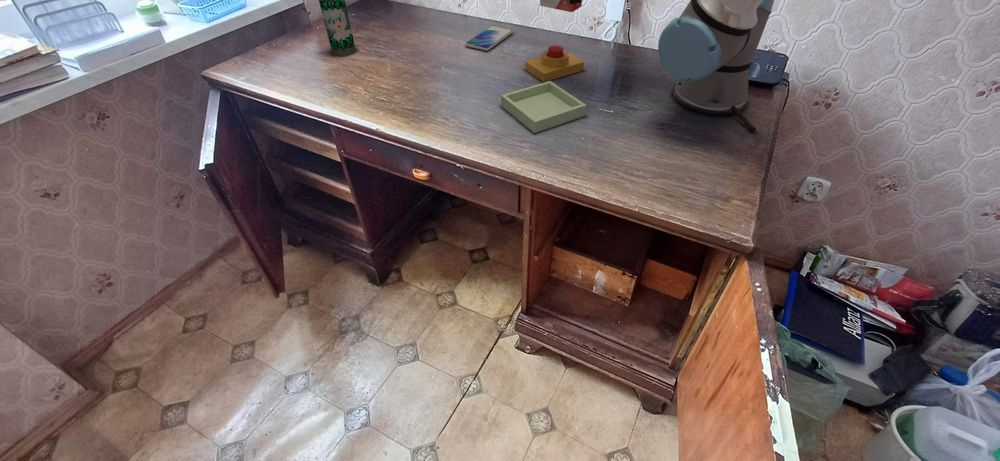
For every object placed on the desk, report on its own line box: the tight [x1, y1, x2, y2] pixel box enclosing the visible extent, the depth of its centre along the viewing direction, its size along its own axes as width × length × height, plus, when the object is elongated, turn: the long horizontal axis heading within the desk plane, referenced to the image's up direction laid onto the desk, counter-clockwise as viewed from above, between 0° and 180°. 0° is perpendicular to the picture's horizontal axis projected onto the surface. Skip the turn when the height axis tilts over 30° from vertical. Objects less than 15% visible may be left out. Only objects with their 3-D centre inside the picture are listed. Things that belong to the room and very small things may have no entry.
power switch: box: [524, 49, 585, 83], centre depth 114 cm, size 8×12×4 cm, turn 121°
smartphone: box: [465, 25, 514, 52], centre depth 129 cm, size 7×1×15 cm
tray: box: [500, 80, 587, 134], centre depth 100 cm, size 13×13×3 cm
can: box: [318, 0, 357, 57], centre depth 120 cm, size 6×6×15 cm
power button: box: [547, 45, 564, 58], centre depth 113 cm, size 4×4×2 cm
